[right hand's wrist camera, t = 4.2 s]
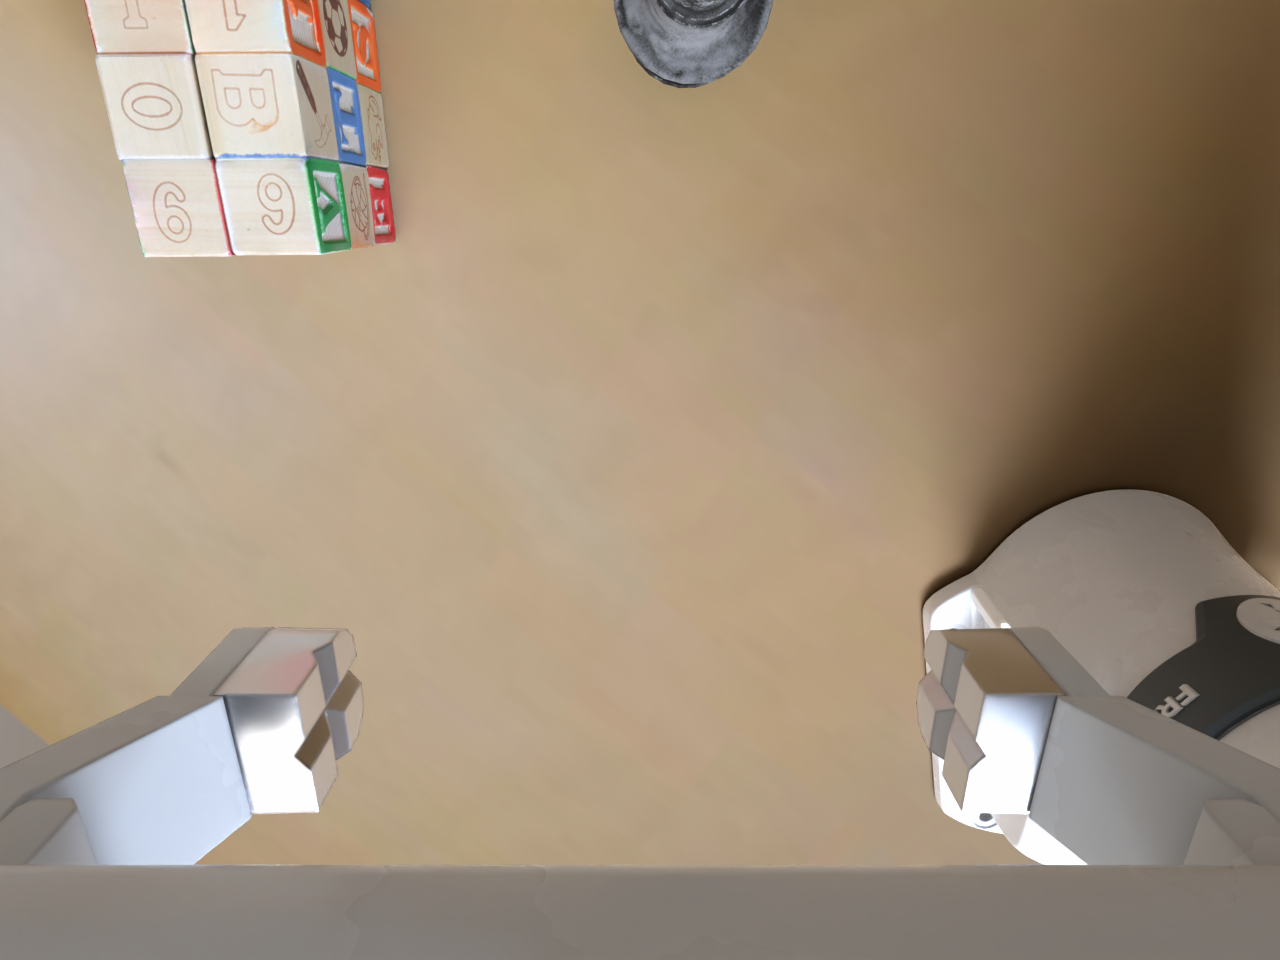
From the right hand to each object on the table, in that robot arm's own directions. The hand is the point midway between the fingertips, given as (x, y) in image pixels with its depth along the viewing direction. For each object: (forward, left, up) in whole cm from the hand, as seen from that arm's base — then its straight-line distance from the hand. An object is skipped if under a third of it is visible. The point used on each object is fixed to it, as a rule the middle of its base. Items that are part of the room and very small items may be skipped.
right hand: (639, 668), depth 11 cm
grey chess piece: (+13, -2, -26) cm, 30 cm away
